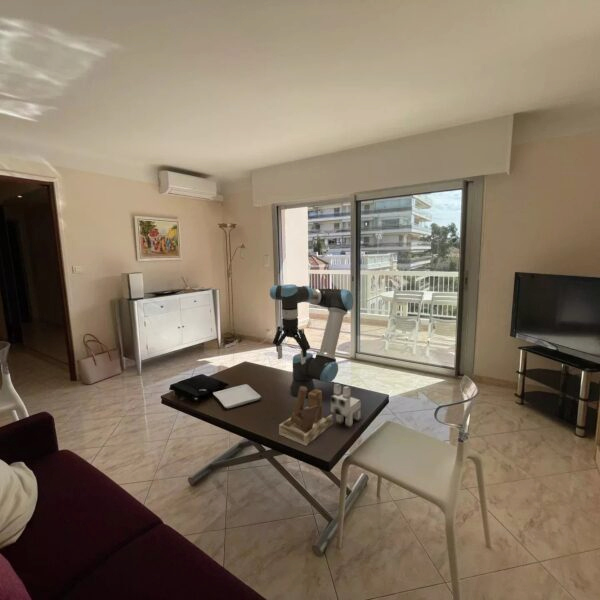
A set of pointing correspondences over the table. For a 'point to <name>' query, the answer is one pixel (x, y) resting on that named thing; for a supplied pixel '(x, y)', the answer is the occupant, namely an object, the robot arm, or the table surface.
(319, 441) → the table surface
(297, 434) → the tray
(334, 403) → the toy llama
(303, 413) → the brown wooden figure
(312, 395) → the tall brown block
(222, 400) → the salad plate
